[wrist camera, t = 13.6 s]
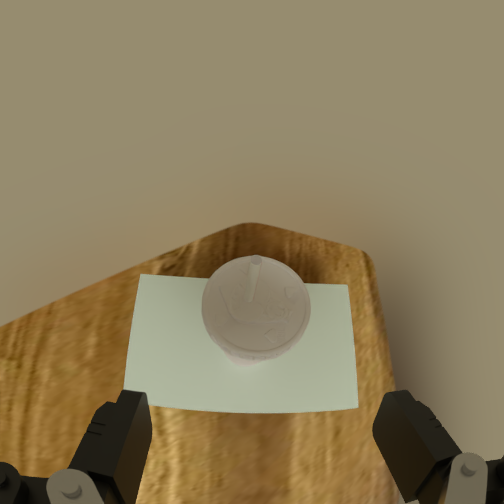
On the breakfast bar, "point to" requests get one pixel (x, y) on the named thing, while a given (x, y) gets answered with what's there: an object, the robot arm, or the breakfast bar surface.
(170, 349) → the small table
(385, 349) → the breakfast bar surface
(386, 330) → the breakfast bar surface
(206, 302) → the smoothie
